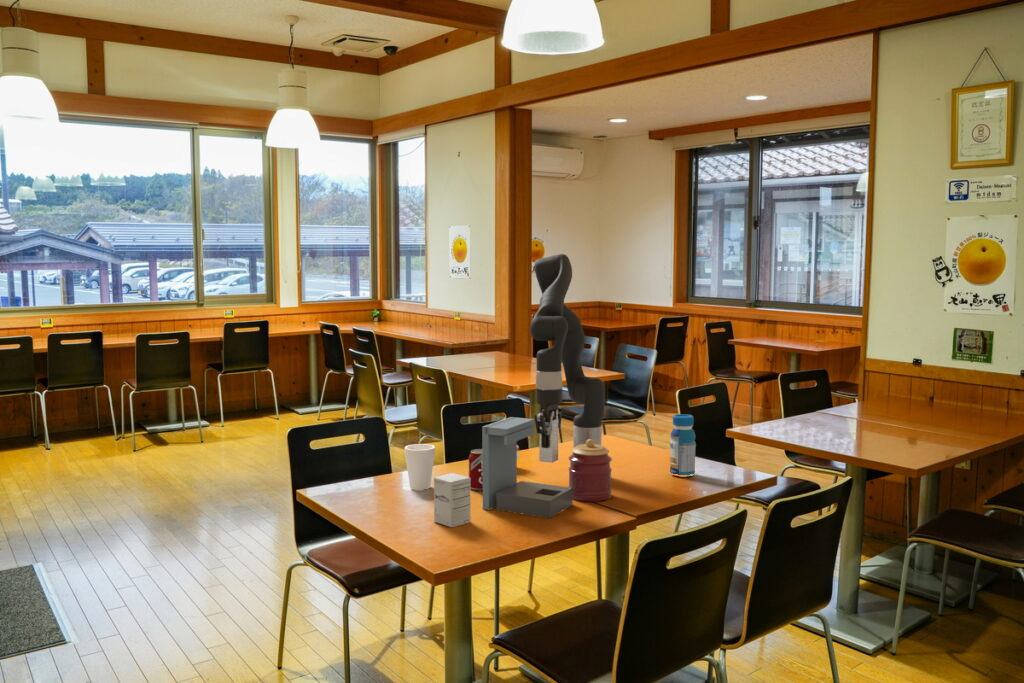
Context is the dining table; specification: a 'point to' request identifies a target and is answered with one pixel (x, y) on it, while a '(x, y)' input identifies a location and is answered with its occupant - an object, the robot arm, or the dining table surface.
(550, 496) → the socket
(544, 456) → the peg
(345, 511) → the dining table surface
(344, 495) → the dining table surface
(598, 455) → the canister
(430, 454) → the foam cup
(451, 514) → the supplement box
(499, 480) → the coffee dispenser stand
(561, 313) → the robot arm
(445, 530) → the dining table surface
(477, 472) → the soda can
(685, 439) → the beverage bottle
